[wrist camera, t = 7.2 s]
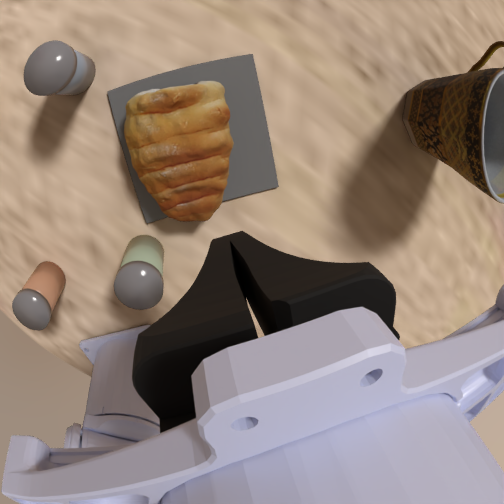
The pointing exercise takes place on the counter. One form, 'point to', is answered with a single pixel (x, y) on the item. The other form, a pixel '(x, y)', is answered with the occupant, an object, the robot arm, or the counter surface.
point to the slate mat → (240, 123)
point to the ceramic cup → (463, 123)
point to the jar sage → (141, 273)
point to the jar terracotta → (39, 296)
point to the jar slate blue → (58, 70)
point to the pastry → (181, 147)
